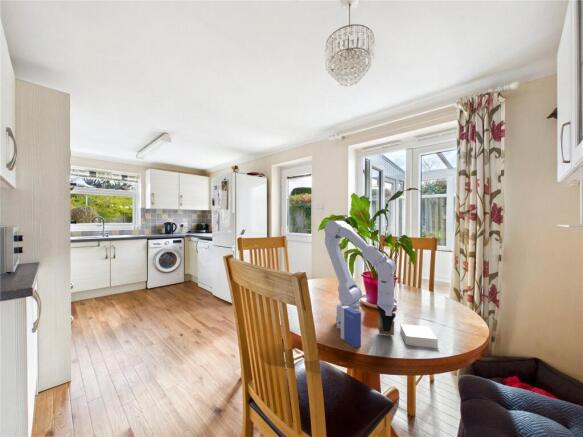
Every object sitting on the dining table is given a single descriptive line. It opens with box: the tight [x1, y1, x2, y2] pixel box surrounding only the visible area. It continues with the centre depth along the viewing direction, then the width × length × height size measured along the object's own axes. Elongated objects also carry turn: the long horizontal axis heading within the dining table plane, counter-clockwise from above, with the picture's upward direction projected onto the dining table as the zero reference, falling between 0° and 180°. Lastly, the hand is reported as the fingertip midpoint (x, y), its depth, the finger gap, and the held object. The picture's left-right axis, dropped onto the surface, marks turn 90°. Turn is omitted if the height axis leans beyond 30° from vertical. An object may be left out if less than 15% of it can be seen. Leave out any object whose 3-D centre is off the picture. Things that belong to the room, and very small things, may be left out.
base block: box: [399, 323, 439, 349], centre depth 90 cm, size 10×10×3 cm
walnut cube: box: [377, 314, 395, 336], centre depth 92 cm, size 5×5×5 cm
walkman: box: [340, 306, 362, 348], centre depth 88 cm, size 8×3×12 cm, turn 26°
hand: (385, 327), depth 92 cm, fingers closed on walnut cube, 5 cm apart
